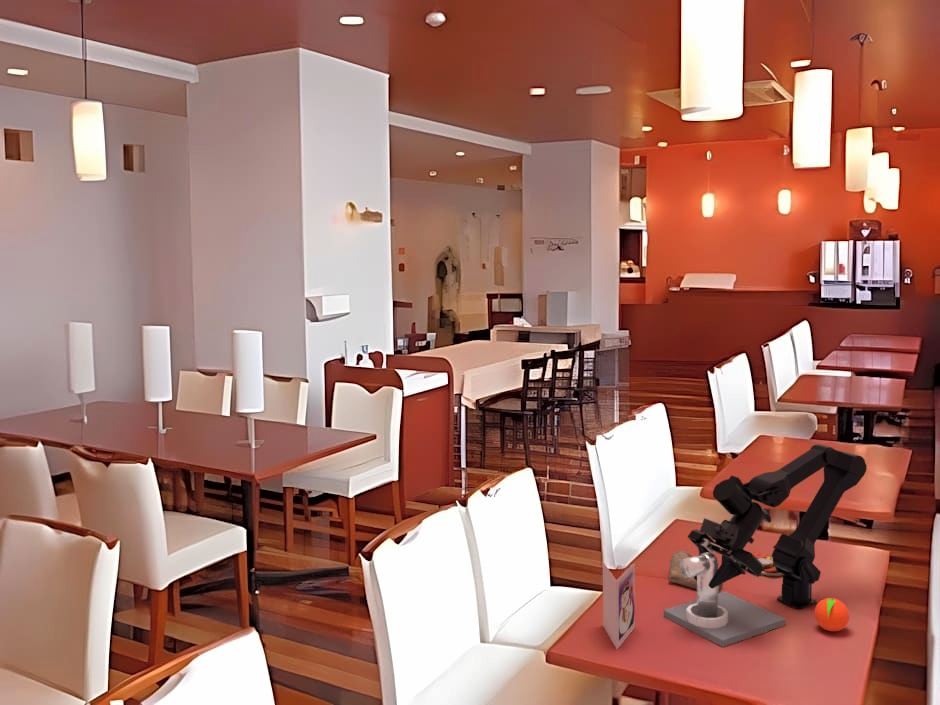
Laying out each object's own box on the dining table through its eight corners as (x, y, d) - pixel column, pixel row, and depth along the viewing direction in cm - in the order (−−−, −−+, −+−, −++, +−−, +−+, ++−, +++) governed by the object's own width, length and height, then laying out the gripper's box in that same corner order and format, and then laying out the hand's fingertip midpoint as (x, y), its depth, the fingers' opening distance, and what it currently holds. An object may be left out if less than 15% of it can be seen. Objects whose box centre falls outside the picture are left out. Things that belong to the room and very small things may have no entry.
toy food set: (801, 565, 225) (801, 553, 225) (789, 582, 214) (790, 570, 214) (749, 556, 232) (749, 544, 232) (735, 573, 221) (735, 560, 221)
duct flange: (724, 597, 206) (724, 583, 205) (785, 625, 190) (785, 610, 190) (663, 616, 197) (663, 601, 196) (722, 647, 181) (722, 631, 181)
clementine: (845, 641, 182) (846, 609, 181) (810, 634, 186) (811, 603, 185) (851, 627, 189) (852, 595, 188) (817, 620, 192) (818, 589, 192)
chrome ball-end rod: (708, 604, 194) (708, 547, 192) (722, 612, 190) (722, 554, 188) (679, 612, 190) (679, 554, 188) (692, 620, 186) (692, 561, 184)
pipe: (715, 580, 205) (734, 561, 212) (654, 563, 216) (674, 546, 223) (717, 604, 206) (736, 584, 213) (656, 586, 218) (676, 568, 225)
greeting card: (620, 650, 181) (620, 581, 179) (587, 643, 185) (586, 575, 183) (638, 628, 191) (638, 563, 189) (606, 622, 195) (606, 557, 193)
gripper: (694, 494, 198) (654, 550, 194) (753, 517, 181) (711, 578, 178) (720, 522, 202) (683, 576, 199) (780, 546, 185) (740, 606, 182)
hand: (702, 583), depth 189 cm, fingers closed on chrome ball-end rod, 4 cm apart
